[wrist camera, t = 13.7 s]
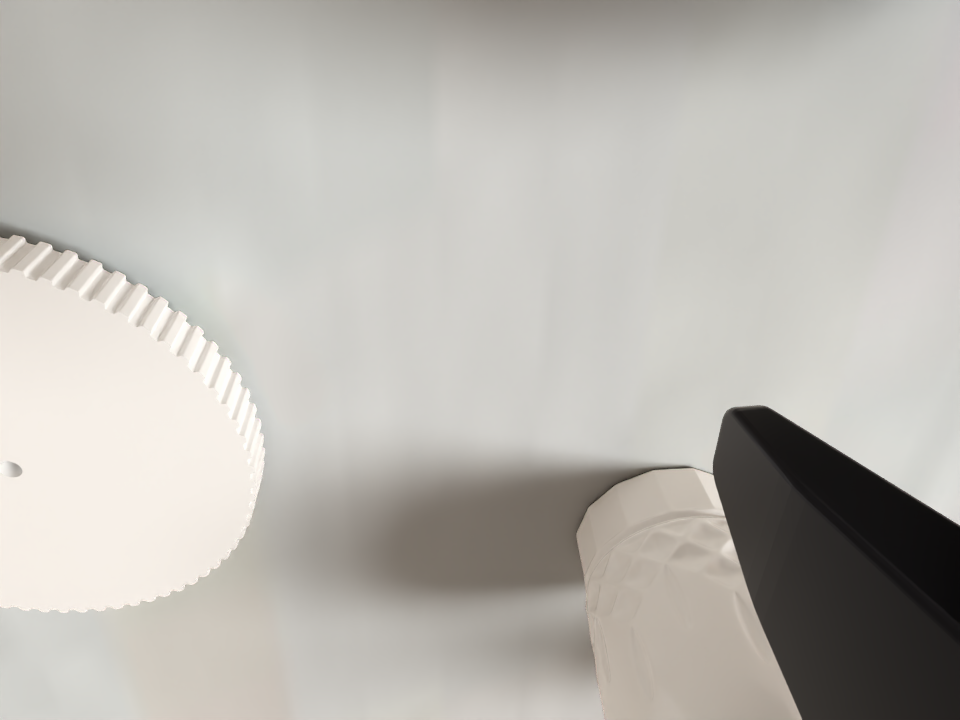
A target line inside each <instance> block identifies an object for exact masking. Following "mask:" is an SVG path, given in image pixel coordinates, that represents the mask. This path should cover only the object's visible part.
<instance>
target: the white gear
mask: <svg viewBox="0 0 960 720" xmlns="http://www.w3.org/2000/svg"><path fill="white" fill-rule="evenodd" d="M147 292H148V288H147V287H145V286H144V285H142V284H140V283H138V284H136V285H133V284H131V283H129V282H127V281H126V276H125V275H124V274H122V273H120V272H118V271H115V272H113V273H110V272H108V271H106V270H104V269H103V268H102V264H101V263H99V262H97V261H95V260H90V261H89V262H85V261H82V260H80V259H78V255H77V253H75V252H72V251H70V250H65V251H64V252H63V253H60V252H57V251H54V250H53V249H52V246H51V244H48V243H45V242H41V241H40V242H39V243H38V244H37V245H33V244H29V243H27V242H26V240H25V238H24V237H21V236H17V235H13V236H11V237H10V238H9V239H6V238H1V237H0V607H2V608H10V607H11V606H13V607H19V608H20V609H21V610H24V611H30V609H39V610H40V612H49V611H50V610H58V611H59V612H60V613H68V612H69V610H77V611H78V612H87V610H88V609H95V610H96V611H105V609H106V608H108V607H112V608H114V609H120V608H122V607H123V605H126V604H129V605H131V606H136V605H139V603H140V601H147V602H151V601H154V600H155V598H156V597H157V596H162V597H167V596H169V595H170V593H171V591H173V590H175V591H178V592H179V591H181V590H183V589H184V587H185V585H186V584H190V585H193V584H195V583H196V582H197V580H198V577H199V576H201V577H206V576H207V575H209V572H210V569H211V568H213V569H216V568H218V567H219V566H220V563H221V560H222V559H224V560H226V559H227V558H228V557H229V556H230V552H231V549H233V550H235V549H236V547H237V546H238V543H239V539H242V538H243V536H244V535H245V531H246V527H248V526H249V524H250V520H251V516H252V514H253V511H254V507H255V503H256V499H257V495H258V491H259V488H260V484H261V480H262V473H263V469H264V463H265V462H264V461H263V459H264V455H265V448H263V447H262V445H263V442H264V434H263V433H259V431H260V428H261V420H260V419H259V418H255V414H256V411H257V408H256V405H255V404H254V403H249V401H248V400H249V397H250V392H249V390H248V388H243V387H241V385H240V382H241V379H242V378H241V376H240V374H239V373H238V372H232V371H231V369H230V368H229V367H230V365H231V362H230V360H229V359H228V358H227V357H226V356H225V357H221V356H220V355H219V354H218V353H217V350H218V346H217V345H216V343H215V342H214V341H206V340H205V339H204V338H203V337H202V335H203V333H204V331H203V330H202V329H201V328H200V327H199V326H191V325H190V324H188V323H187V322H186V319H187V316H186V315H185V314H184V313H182V312H181V311H177V312H174V311H172V310H171V309H170V308H168V301H166V300H165V299H164V298H162V297H157V298H154V297H152V296H151V295H149V294H148V293H147Z"/></svg>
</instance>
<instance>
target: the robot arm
mask: <svg viewBox="0 0 960 720" xmlns="http://www.w3.org/2000/svg"><path fill="white" fill-rule="evenodd" d="M713 476H714V481H715V485H716V488H717V491H718V494H719V498H720V501H721V504H722V507H723V511H724V514H725V517H726V521H727V524H728V527H729V530H730V534H731V537H732V540H733V543H734V547H735V550H736V553H737V556H738V560H739V563H740V566H741V569H742V573H743V576H744V579H745V582H746V586H747V589H748V592H749V595H750V597H751V600H752V603H753V606H754V609H755V611H756V614H757V616H758V618H759V621H760V623H761V626H762V628H763V631H764V633H765V635H766V637H767V640H768V642H769V644H770V647H771V649H772V651H773V654H774V656H775V658H776V660H777V663H778V665H779V667H780V670H781V672H782V674H783V677H784V679H785V681H786V684H787V686H788V688H789V690H790V693H791V695H792V697H793V700H794V702H795V704H796V707H797V709H798V711H799V714H800V716H801V718H802V720H960V525H958V524H956V523H955V522H953V521H952V520H950V519H948V518H947V517H945V516H943V515H942V514H940V513H939V512H937V511H935V510H934V509H932V508H931V507H929V506H927V505H926V504H924V503H922V502H921V501H919V500H918V499H916V498H914V497H913V496H911V495H910V494H908V493H906V492H905V491H903V490H901V489H900V488H898V487H897V486H895V485H893V484H892V483H890V482H889V481H887V480H885V479H884V478H882V477H880V476H879V475H877V474H876V473H874V472H872V471H871V470H869V469H868V468H866V467H864V466H863V465H861V464H859V463H858V462H856V461H855V460H853V459H851V458H850V457H848V456H847V455H845V454H843V453H842V452H840V451H838V450H837V449H835V448H834V447H832V446H830V445H829V444H827V443H826V442H824V441H822V440H821V439H819V438H817V437H816V436H814V435H813V434H811V433H809V432H808V431H806V430H805V429H803V428H801V427H800V426H798V425H796V424H795V423H793V422H792V421H790V420H788V419H787V418H785V417H784V416H782V415H780V414H779V413H777V412H775V411H774V410H772V409H770V408H768V407H766V406H760V405H757V406H744V407H733V408H731V409H729V410H727V411H726V413H725V414H724V417H723V420H722V424H721V429H720V433H719V437H718V442H717V446H716V451H715V455H714V460H713Z"/></svg>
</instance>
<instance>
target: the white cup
mask: <svg viewBox="0 0 960 720" xmlns="http://www.w3.org/2000/svg"><path fill="white" fill-rule="evenodd" d="M576 538H577V543H578V548H579V553H580V558H581V563H582V568H583V574H584V580H585V590H586V604H585V607H586V611H587V615H588V622H589V631H590V639H591V644H592V649H593V653H594V656H595V668H596V677H597V683H598V687H599V692H600V697H601V702H602V708H603V713H604V719H605V720H802V718H801V716H800V714H799V711H798V709H797V707H796V704H795V702H794V700H793V697H792V695H791V693H790V690H789V688H788V686H787V684H786V681H785V679H784V677H783V674H782V672H781V670H780V667H779V665H778V663H777V660H776V658H775V656H774V654H773V651H772V649H771V647H770V644H769V642H768V640H767V637H766V635H765V633H764V631H763V628H762V626H761V623H760V621H759V618H758V616H757V614H756V611H755V609H754V606H753V603H752V600H751V597H750V595H749V592H748V589H747V586H746V582H745V579H744V576H743V573H742V569H741V566H740V563H739V560H738V556H737V553H736V550H735V547H734V543H733V540H732V537H731V534H730V530H729V527H728V524H727V521H726V517H725V514H724V511H723V507H722V504H721V501H720V498H719V494H718V491H717V488H716V485H715V481H714V476H713V475H712V474H709V473H706V472H703V471H700V470H697V469H694V468H681V469H663V470H652V471H650V472H647V473H644V474H642V475H639V476H636V477H634V478H631V479H628V480H626V481H623V482H621V483H618V484H616V485H614V486H613V487H612V488H611V489H610V490H608V491H607V492H606V493H605V494H604V495H602V496H601V497H600V498H599V499H598V500H596V501H595V502H594V503H593V504H592V505H590V506H589V507H588V509H587V511H586V514H585V516H584V518H583V520H582V522H581V525H580V527H579V529H578V531H577V534H576Z"/></svg>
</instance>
